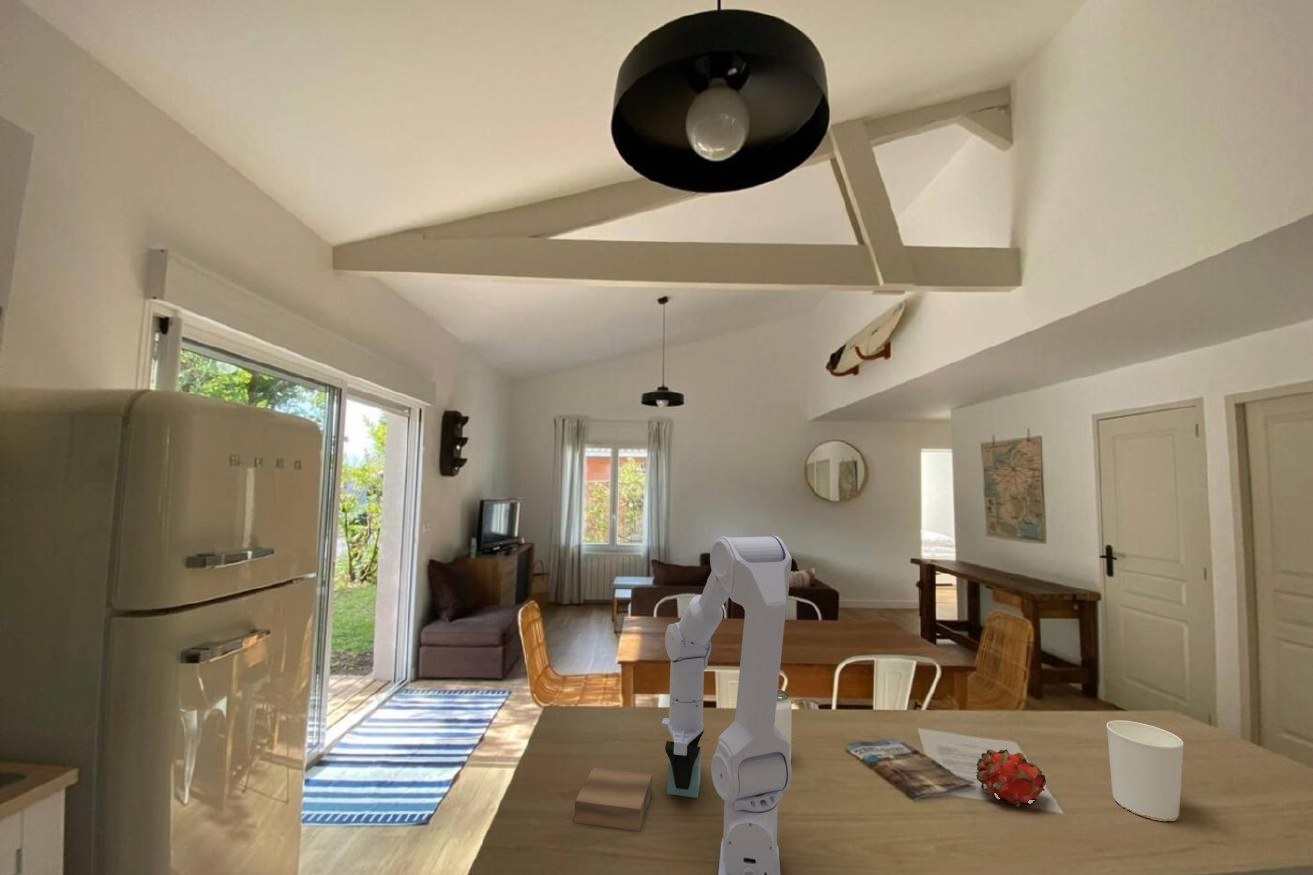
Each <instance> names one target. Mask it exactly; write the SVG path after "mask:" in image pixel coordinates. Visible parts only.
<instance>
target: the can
mask: <svg viewBox="0 0 1313 875" xmlns="http://www.w3.org/2000/svg"><path fill="white" fill-rule="evenodd" d="M790 697H791V696H790V693H788V692H787V691H786V690H784V689H779V688H778V694H777V704H776V714H775V724H774V727H776V728H777V729H778V730H779V731H781V732H782V734H783V735H784V736H785V737H786V739H787V741H788V742H789V744H790V750H789V756H790V762H791V761H792V724H793V722H792V716H793V715H792V711H793V710H792V709H793V708H792V702H791V700H790Z"/></svg>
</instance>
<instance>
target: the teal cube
mask: <svg viewBox="0 0 1313 875" xmlns="http://www.w3.org/2000/svg"><path fill="white" fill-rule="evenodd" d="M701 767H702V751H700V752H699V754H698V756H697V758H696V760H695V762H694V765H693V769H692V776H691V781H690V785H689V789H688V790H686V789H678V788H676V786H675V782H674V776H673V770H672V765H671V762H670V759H668V762H667V782H666V783H667V784H666V788H667V789H666V792H667V793H666V794H667V795H673V796H678V797H679V796H681V797H687V798H695V799H698V796H699V792H700V787H699V786H701V770H702V769H701Z"/></svg>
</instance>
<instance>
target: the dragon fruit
mask: <svg viewBox="0 0 1313 875" xmlns="http://www.w3.org/2000/svg"><path fill="white" fill-rule="evenodd" d="M976 766H977V769H976V770H977V771H975V772H976V776H975V777H976V779H977V781H978V782H979V783H981V785H980V787H981V789H982V791H983V792H985V793H989V794H993V793H996V794H997V795H998V797H999V798H1000V800H1001V799H1005V800H1006V801H1008V803H1009V802H1010V803H1011V805H1014V807H1016V808H1017V807H1020V804H1021V803H1025V804H1027V803H1028V801H1029V800H1036V801H1037V797H1038V796H1040V794H1041V793H1042V792H1044V791H1045V788H1044V787H1045V786H1046V784H1047V780H1046V776H1045V774H1043V771H1041V768H1039V767H1038V766H1037V764H1035V763H1032V762H1029V761H1028V760H1027V758H1026V757H1025V755H1024V754H1023V752H1022V753H1021V752H1016V753H1015V754H1011V753H1010V752H1009V750H1008V749H999V750H998V751H995V750H993V749H990V748H989V749H987V750H986V752H982V753H981V758H978V760H977V761H976ZM985 785H986V787H987V788H985ZM1010 803H1009V804H1010Z"/></svg>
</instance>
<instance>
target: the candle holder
mask: <svg viewBox="0 0 1313 875" xmlns="http://www.w3.org/2000/svg"><path fill="white" fill-rule="evenodd" d="M1106 732H1107V744H1108V755H1109V757H1108V758H1109V759H1108V760H1109V769H1110V780H1111V782H1110V783H1111V791H1112V798H1114V799H1115V800H1116V801H1117V802H1118V803H1119V804H1121V805H1122V806H1124V807H1126V808H1127V809H1130V810H1132V811H1133V812H1136V813H1138V814H1141V815H1147V816H1151V817H1157V818H1163V819H1167V818H1169V819H1172V818H1175V817H1178V816H1179V817H1180V809H1181V808H1180V806H1181V791H1182V775H1183V774H1182V772H1183V756H1184V755H1183V754H1184V746H1185V744H1184V741H1183V740H1182V739H1181V737H1179V736H1177V735H1176V734H1174V733H1173V732H1170V731H1167V730H1166V729H1162V728H1160V727H1158V726H1154V725H1151V724H1146V723H1142V722H1136V721H1130V720H1120V719H1119V720H1110V721H1108V722H1107V723H1106ZM1114 799H1113V800H1114ZM1179 817H1178V818H1179Z"/></svg>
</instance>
